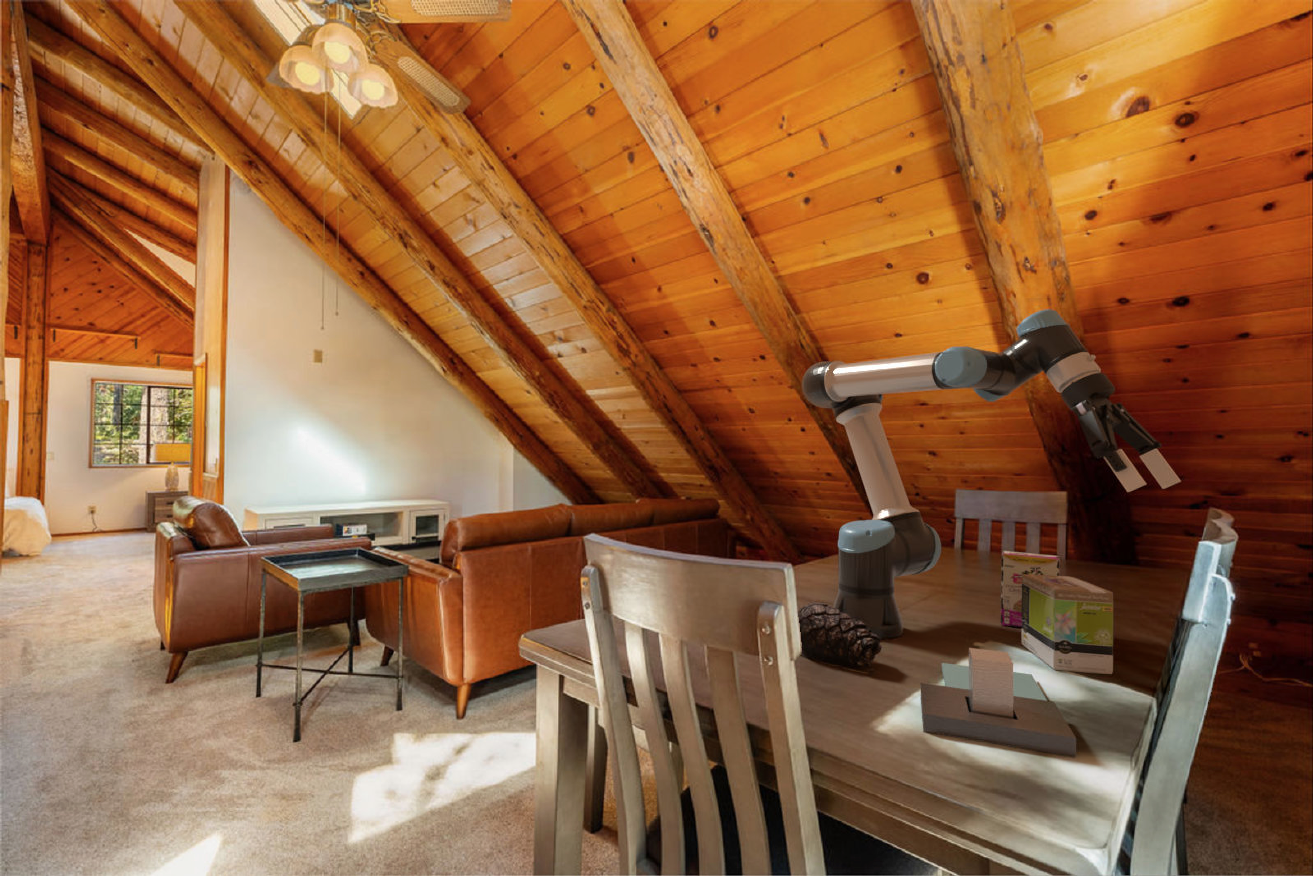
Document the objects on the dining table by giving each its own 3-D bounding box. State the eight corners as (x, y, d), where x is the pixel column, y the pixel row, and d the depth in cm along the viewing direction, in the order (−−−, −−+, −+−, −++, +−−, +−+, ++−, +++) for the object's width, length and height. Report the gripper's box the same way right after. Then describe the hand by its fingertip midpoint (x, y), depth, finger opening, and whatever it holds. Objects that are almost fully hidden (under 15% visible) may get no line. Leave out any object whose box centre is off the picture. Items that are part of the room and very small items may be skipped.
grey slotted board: (923, 731, 84) (923, 713, 84) (920, 698, 95) (920, 682, 95) (1076, 757, 77) (1076, 738, 77) (1053, 718, 88) (1053, 701, 88)
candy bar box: (1000, 626, 135) (1000, 553, 135) (1001, 620, 139) (1001, 550, 139) (1060, 634, 129) (1059, 558, 129) (1059, 628, 133) (1059, 555, 133)
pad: (946, 693, 97) (946, 687, 97) (941, 668, 108) (941, 662, 108) (1047, 708, 92) (1047, 701, 92) (1031, 680, 103) (1031, 674, 103)
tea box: (1116, 676, 105) (1115, 591, 106) (1052, 671, 107) (1052, 588, 108) (1074, 648, 120) (1074, 574, 120) (1019, 644, 122) (1019, 572, 122)
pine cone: (873, 679, 103) (873, 621, 103) (782, 655, 115) (782, 602, 115) (895, 663, 111) (895, 609, 111) (807, 642, 123) (807, 593, 123)
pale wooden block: (972, 729, 84) (972, 658, 85) (968, 715, 89) (968, 647, 89) (1013, 736, 83) (1013, 663, 83) (1007, 721, 87) (1007, 652, 87)
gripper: (1065, 366, 100) (1145, 478, 90) (1132, 374, 112) (1208, 473, 103) (1025, 391, 105) (1097, 500, 96) (1093, 397, 118) (1162, 493, 108)
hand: (1155, 486), depth 99 cm, fingers open, 13 cm apart
